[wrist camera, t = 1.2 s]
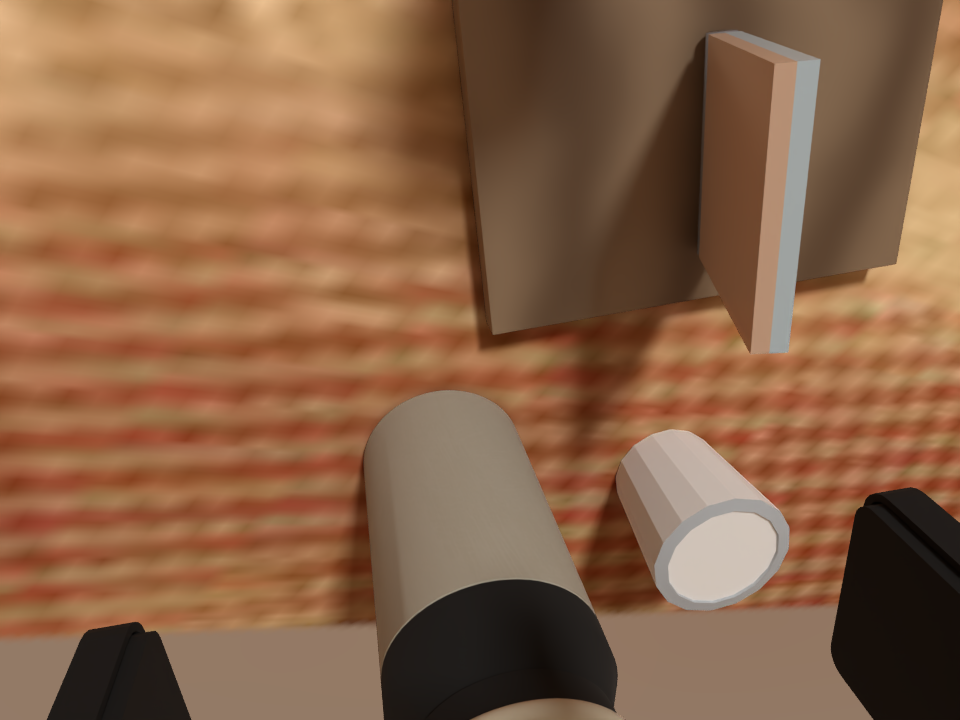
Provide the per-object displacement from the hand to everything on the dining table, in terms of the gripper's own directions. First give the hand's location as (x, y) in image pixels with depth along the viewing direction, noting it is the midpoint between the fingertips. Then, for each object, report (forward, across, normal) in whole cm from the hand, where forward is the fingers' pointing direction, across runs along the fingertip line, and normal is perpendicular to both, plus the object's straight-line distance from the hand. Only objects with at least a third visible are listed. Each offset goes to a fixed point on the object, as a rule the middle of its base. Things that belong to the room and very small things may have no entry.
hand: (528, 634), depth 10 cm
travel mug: (+25, 0, +13) cm, 28 cm away
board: (+24, -13, -1) cm, 28 cm away
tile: (+18, -11, -1) cm, 21 cm away
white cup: (+25, -12, +17) cm, 33 cm away
